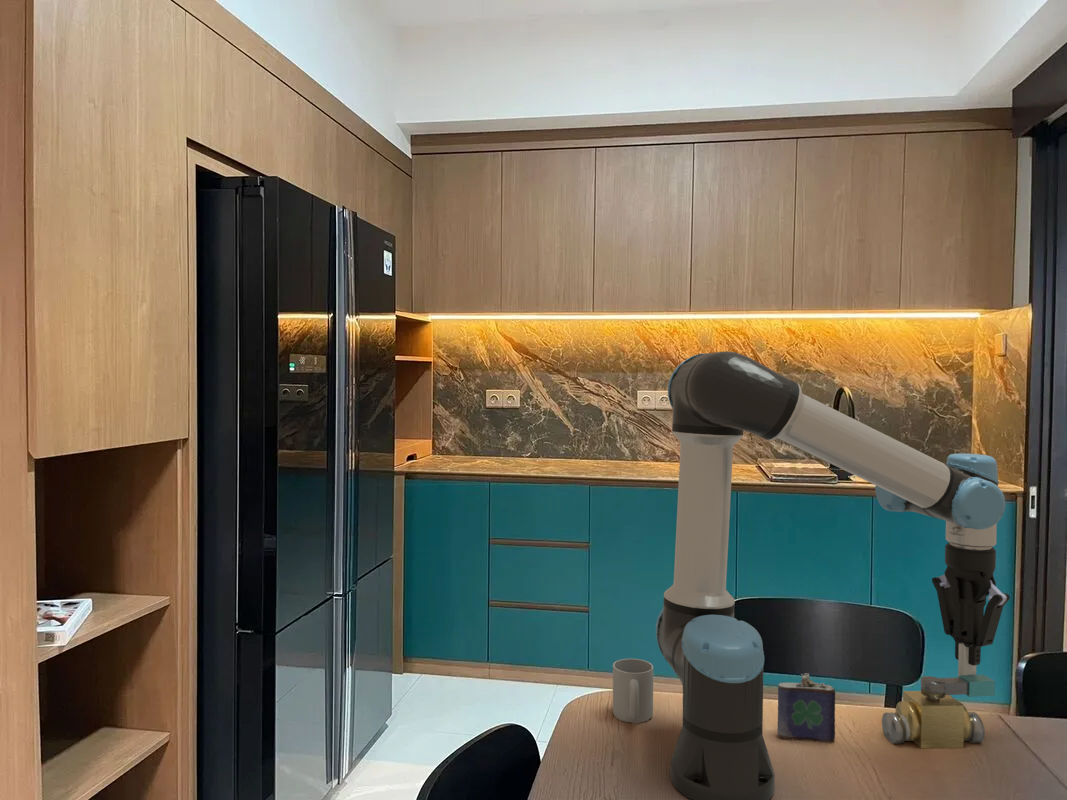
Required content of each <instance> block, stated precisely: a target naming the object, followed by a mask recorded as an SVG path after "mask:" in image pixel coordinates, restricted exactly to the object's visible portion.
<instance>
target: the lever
mask: <svg viewBox="0 0 1067 800" xmlns="http://www.w3.org/2000/svg"><path fill="white" fill-rule="evenodd" d="M920 691H921V693H922V694H923V695H925V696H927V697H931V698H944V697H945V695H950V696H952V695H953V696H959V695H960V696H961V695H966V696H967V697H969V698H971V697H972V698H974V697H976V698H977V697H995V696H996V681H995V680H994V679H992V678H990V677H988V676H987V675H985V674H976V675H960V676H959V677H958V676H957V677H936V676H927V675H926V676H925V675H924V676H921V677H920Z"/></svg>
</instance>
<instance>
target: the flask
mask: <svg viewBox="0 0 1067 800" xmlns="http://www.w3.org/2000/svg"><path fill="white" fill-rule="evenodd" d="M800 675H801V680H800V682H779V684H778V685H777V736H778V738H779V739H784V740H787V741H801V742H811V741H812V742H814V743H816V742H818V743H819V742H820V743H827V744H833V743H835V739H836V725H835V723H836V689H835V688H834V687H833V686H831V685H830V684H829V685H828V684H825V683H824V682H814V681H813V680H812V679H811V678H810V673H809V672H808V673H807V672H806V673H800Z"/></svg>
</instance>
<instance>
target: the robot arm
mask: <svg viewBox="0 0 1067 800" xmlns="http://www.w3.org/2000/svg"><path fill="white" fill-rule="evenodd" d="M667 398H668V401H669V404H670V406H671V408H672V425H671V427H672V428H671V433H672V435H674V437H675V438H676V439H677V440H678V441H679V444H680V447H679V469H678V470H679V471H678V490H677V507H676V509H677V511H676V530H675V531H676V532H675V547H674V551H675V553H674V568H673V569H674V570H673V584H672V585H670V587H669V588H667V589H666V590H665V591H664V593H663V602H662V603H663V605H662V609H661V610H660V613H659V614H658V617H657V619H656V624H655V637H656V642H657V646H658V649H659V651H660V653H661V655H662V657H663V658H664V660H665V661H666V662H667V664H669V666H670V668H671V669H672V670H673V672H674V674H676V676H677V678H678V679H679V680H680V682H681V685H682V727H681V729H680V733H679V735H678V736H679V737H678V739H677V742H676V745H675V748H674V750H673V754H672V757H671V759H670V782H671V783H672V786H674V788H675V789H676V790H677V791H678V792H679V793H681V795H683V796H685V797H687V798H689V799H690V800H770V799H772V798H773V796H774V793H775V786H776V785H775V782H776V781H775V779H776V778H775V771H774V766H773V765H772V761H771V757H770V754H769V752H768V748H767V746H766V742H765V738H764V735H763V726H764V725H763V721H764V720H763V717H764V716H763V714H764V711H763V710H764V665H765V655H764V652H765V651H764V650H763V649H764V647H763V646H764V645H763V639H762V637H761V635H760V633H759V632H758V630H757V629H756V628H755V627H753V626H752V625H751V624H750V623H748V622H746V621H744V620H738V619H737V618H736V617H735V607H736V606H735V603H736V602H735V601H736V600H735V599H734V597H733V596H732V595H731V594H730V592H729V591H728V589H727V573H728V552H729V538H730V536H729V534H730V532H729V531H730V519H731V518H730V517H731V515H730V514H731V499H732V498H731V497H732V496H731V493H732V475H733V474H732V473H733V457H734V456H733V455H734V446H735V445H736V444H737V443H738V442H739V441H740V440H741V439H743V438H744V432H747V433H751V434H753V435H756V436H758V437H759V438H762V439H764V440H766V441H774V440H777V439H779V440H781V441H784V442H785V443H788V444H789V445H791V446H793V447H796V448H798V449H800V450H802V451H804V452H805V453H808V454H811V455H812V456H814V457H816V458H818V459H820V460H822V461H825V462H827V463H829V464H831V465H833V466H835V467H837V468H839V469H841V470H843V471H845V472H847V473H850V474H851V475H853V476H855V477H858V478H860V479H862V480H864V481H866V482H868V483H870V484H873V485H875V495H876V499H877V501H878V504H879V505H880V507H881V508H883V510H886V511H888V512H899V513H905V512H911V513H912V512H913V513H918V514H921V515H923V516H928V517H931V518H933V519H939V520H941V521H942V520H943V521H945V540H946V542H947V543H946V544H945V546H944V547H945V548H944V563H945V565H946V568H945V570H944V574H942V575H940V576H935V577H932V578H931V582H932V584H933V586H934V588H935V590H936V595H937V599H938V604H939V610H940V615H941V616H940V617H941V621H942V627H943V632H944V634H945V635H947V636H950V637H951V638H952V639H953V640H954V657H955V660H958V662H957V663H958V665H957V666H958V668H957V677H959V676H960V675H977V666H978V665H980V664H981V657H982V656H981V655H982V653H981V650H982V649H981V648H982V647H985V646H991V645H993V643H994V640H995V637H996V634H997V629H998V626H999V623H1000V619H1001V617H1002V612H1003V610H1004V609H1003V608H1004V606H1005V605H1006V604H1007V603H1008V601H1010V595H1009V594H1008V593H1006V592H1002V591H1001V590H1000V589H998V587H997V585H996V580H995V577H994V572H995V571H996V566H997V565H996V563H997V562H996V561H997V559H996V558H997V556H996V555H997V550H996V549H995V547H994V546H996V545H997V524H998V522H999V521H1000V520H1002V517H1003V515H1004V512H1005V509H1006V499H1005V495H1004V493H1003V491H1002V490H1001V488H1000V487H999V471H998V470H999V469H998V463H997V460H996V459H995V458H994V457H993V456H991V455H986V454H980V453H979V454H977V453H951V454H949V455H948V456H947V458H946V463H944V462H941V461H940V460H937V459H935V458H934V457H932V456H929V455H927V454H925V453H924V452H921V451H919V450H917V449H916V448H914V447H911V446H909V445H907V444H905V443H903V442H901V441H899V440H897V439H895V438H893V437H891V436H889V435H887V434H884V433H883V432H882V431H881V432H880V431H879V430H877V429H875V428H873V427H871V426H869V425H867V424H865V423H863V422H862V421H858V420H857V419H855V418H853V417H850V416H848V415H847V414H844V413H842V412H841V411H839V410H836V409H834V408H833V407H830V406H829V405H826V404H824V403H822V402H820V401H819V400H816V399H814V398H812V397H810V396H809V395H806V394H804V393H803V391H802V387H801V385H800V383H797V382H795V381H793V380H792V379H789V378H788V377H785V376H784V375H782V374H781V373H778V372H776V371H775V370H773V369H771V368H769V367H767V366H766V365H764V364H762V363H760V362H758V361H757V360H754V359H753V358H751V357H749V356H747V355H743V354H742V353H738V352H735V351H729V350H727V351H717V352H707V353H705V352H704V353H698V354H696V355H693V356H691V357H690V356H689V358H687V359H685V360H683V361H682V362H681V363H679V365H678V366H677V367H676V368H675V369H674V370H673V371H672V373H671V375H670V378H669V380H668V383H667ZM987 600H988V602H987Z"/></svg>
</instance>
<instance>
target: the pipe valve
mask: <svg viewBox="0 0 1067 800" xmlns="http://www.w3.org/2000/svg"><path fill="white" fill-rule="evenodd" d="M894 711H895V712H883V715H882V718H881V726H882V727H881V728H882V731H883V735H884V737H885V738H886V739H887V740H888V741H889V742H890V743H891V744H892V745H893V744H896V745H897V744H899V745H900V744H904V743H905V742H914V744H916V745H917V746H918V747H919V748H920V749H964V741H966V742H969V741H970V742H971V744H981V743H983V742H984V741H985V737H986V731H985V726H984V722H983V720H982V717H981V716H980V715H979V714H978V713H976V712H975V711H968V709H967V708H966V706H965V705H964V703H962V702H961V701H959V700H957V699H955V698H954V697H953V696H952V695H945V697H944V698H931V697H927V696H925V695H923V694H922V693H921V690H903V691H902V701H899V702H898V703H897V704H896V706H895V710H894ZM970 742H969V743H970Z"/></svg>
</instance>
